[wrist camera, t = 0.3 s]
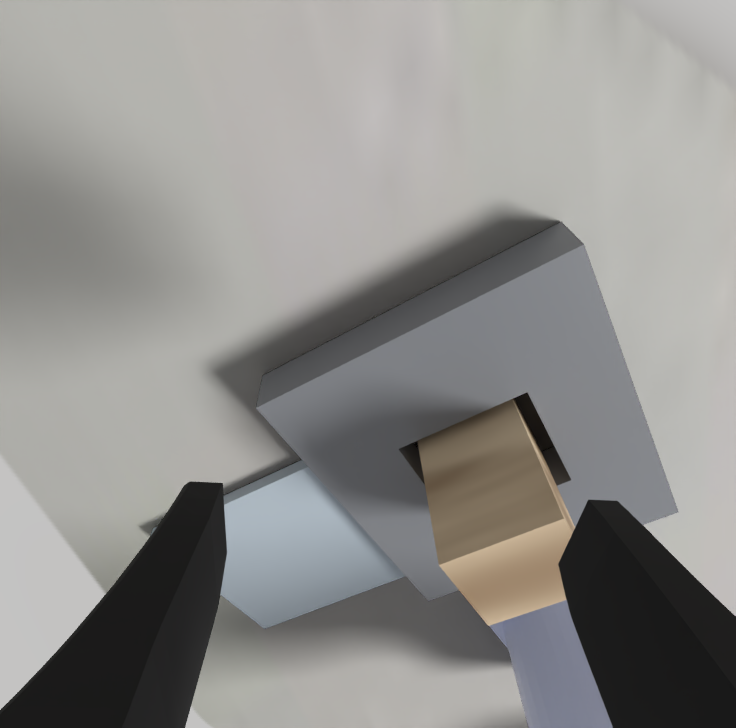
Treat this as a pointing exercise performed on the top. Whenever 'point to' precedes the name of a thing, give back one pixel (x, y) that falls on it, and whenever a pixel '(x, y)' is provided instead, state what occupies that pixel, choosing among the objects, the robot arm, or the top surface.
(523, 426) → the oak block
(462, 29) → the top surface
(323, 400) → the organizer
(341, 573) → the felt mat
